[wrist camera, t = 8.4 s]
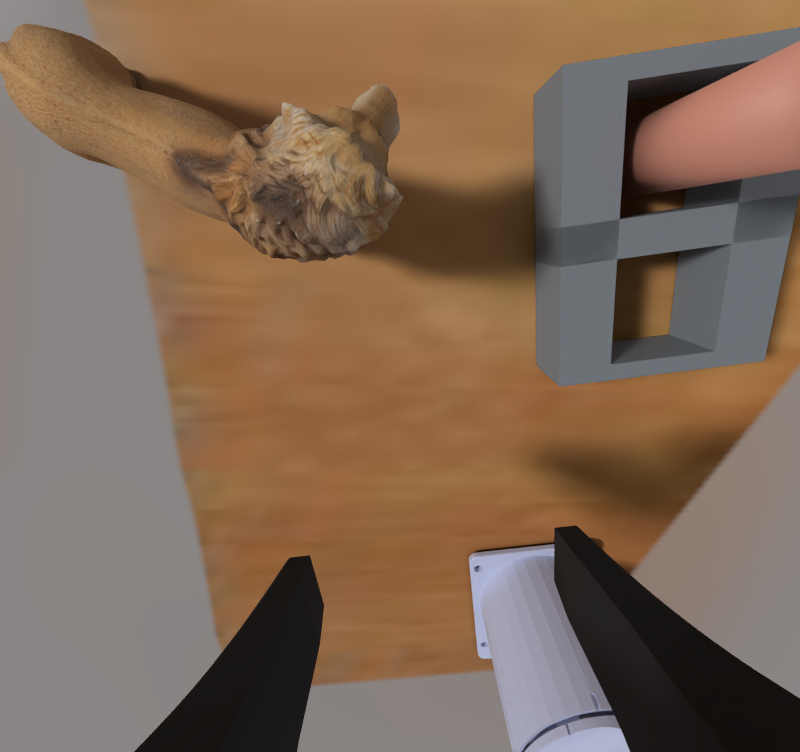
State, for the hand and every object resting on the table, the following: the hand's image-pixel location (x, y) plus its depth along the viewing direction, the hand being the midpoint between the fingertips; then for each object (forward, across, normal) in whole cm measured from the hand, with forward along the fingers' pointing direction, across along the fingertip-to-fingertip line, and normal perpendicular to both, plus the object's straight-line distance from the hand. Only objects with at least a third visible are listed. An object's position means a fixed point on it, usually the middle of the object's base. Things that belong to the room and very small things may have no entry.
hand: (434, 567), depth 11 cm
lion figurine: (+11, +6, -13) cm, 18 cm away
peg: (+10, -11, -11) cm, 19 cm away
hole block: (+10, -11, -8) cm, 17 cm away
